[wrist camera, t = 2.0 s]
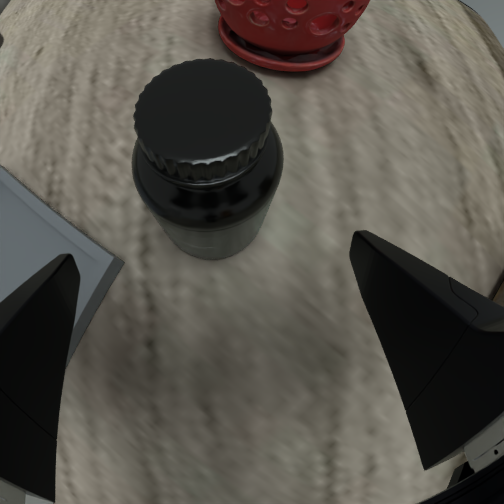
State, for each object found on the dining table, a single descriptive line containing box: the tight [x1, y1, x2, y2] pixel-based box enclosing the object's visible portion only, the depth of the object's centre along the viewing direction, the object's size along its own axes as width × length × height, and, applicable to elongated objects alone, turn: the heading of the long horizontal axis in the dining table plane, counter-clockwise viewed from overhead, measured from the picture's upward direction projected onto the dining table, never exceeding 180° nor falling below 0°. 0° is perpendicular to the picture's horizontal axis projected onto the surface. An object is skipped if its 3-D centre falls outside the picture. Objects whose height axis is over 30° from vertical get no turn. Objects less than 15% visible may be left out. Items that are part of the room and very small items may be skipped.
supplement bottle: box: [132, 58, 284, 259], centre depth 15 cm, size 7×7×12 cm
